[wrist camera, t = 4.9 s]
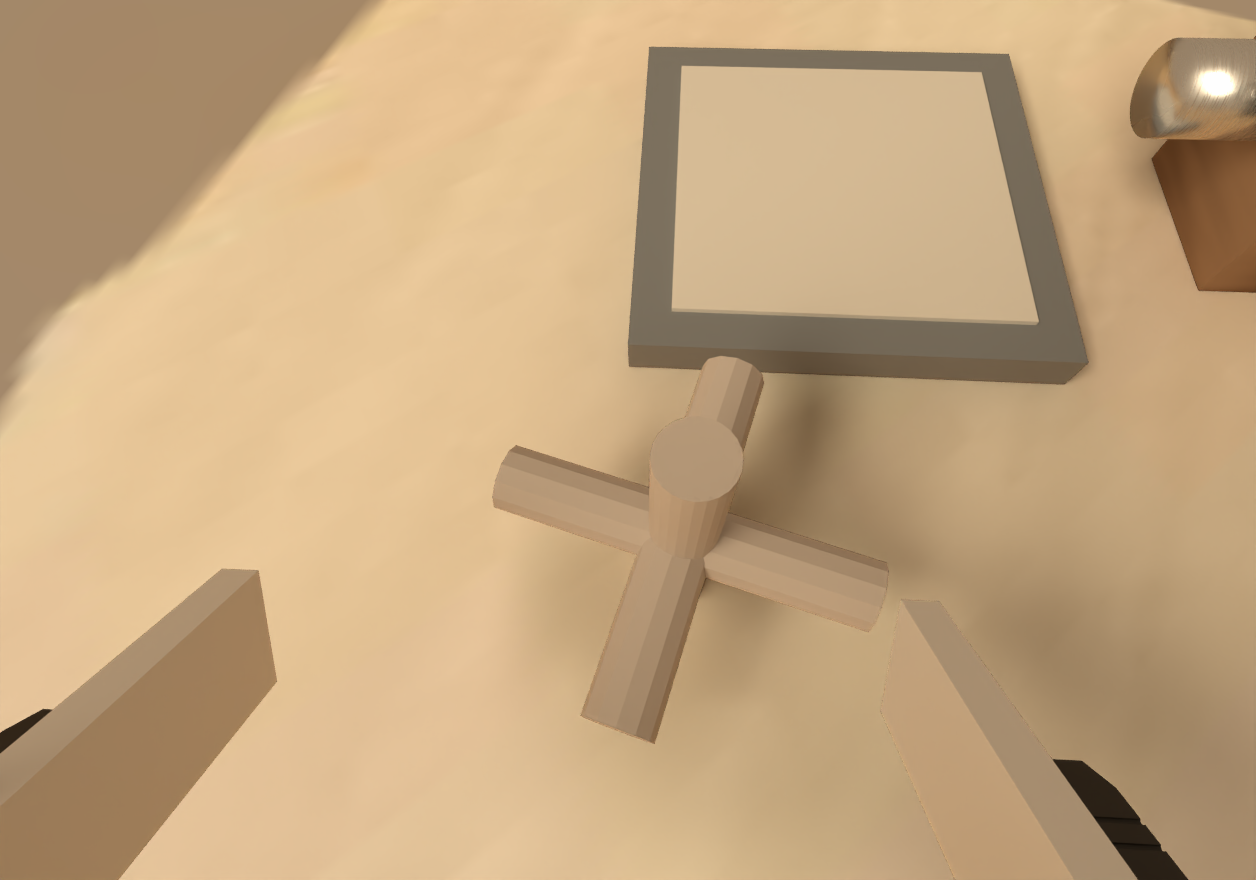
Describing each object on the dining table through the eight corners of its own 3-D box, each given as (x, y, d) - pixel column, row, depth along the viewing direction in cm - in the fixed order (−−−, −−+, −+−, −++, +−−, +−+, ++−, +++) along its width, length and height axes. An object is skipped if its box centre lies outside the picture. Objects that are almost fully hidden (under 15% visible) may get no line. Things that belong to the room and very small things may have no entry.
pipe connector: (472, 679, 21) (344, 619, 12) (586, 408, 25) (553, 210, 16) (789, 799, 20) (913, 834, 11) (858, 490, 24) (991, 322, 14)
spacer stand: (1216, 89, 31) (1417, -146, 23) (1349, 396, 25) (1698, 217, 16) (649, 76, 33) (650, -152, 24) (629, 366, 26) (622, 185, 18)
